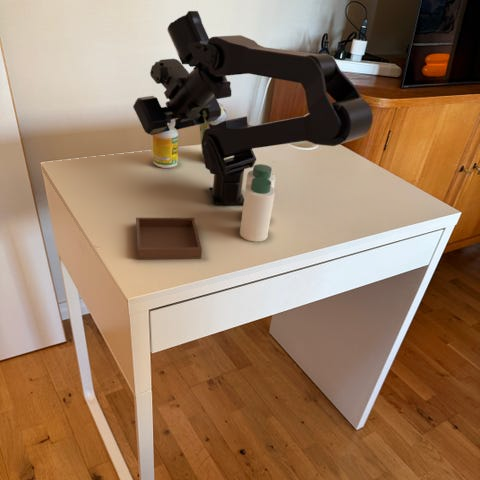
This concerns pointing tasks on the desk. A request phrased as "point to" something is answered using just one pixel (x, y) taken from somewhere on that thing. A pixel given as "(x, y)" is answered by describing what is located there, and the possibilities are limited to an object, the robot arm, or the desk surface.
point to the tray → (167, 238)
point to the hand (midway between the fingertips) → (161, 130)
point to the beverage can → (206, 124)
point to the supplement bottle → (166, 147)
